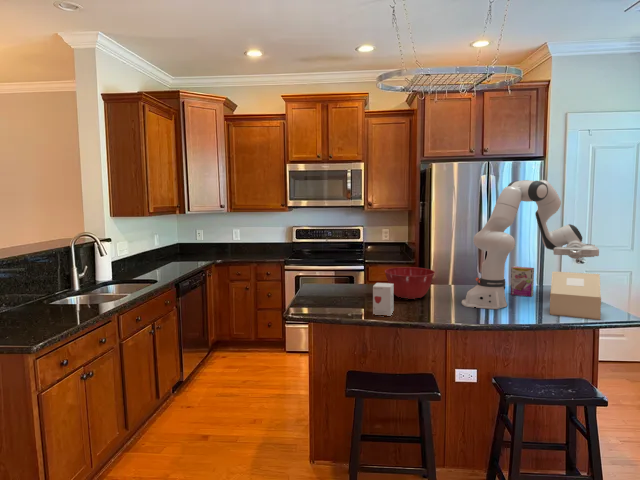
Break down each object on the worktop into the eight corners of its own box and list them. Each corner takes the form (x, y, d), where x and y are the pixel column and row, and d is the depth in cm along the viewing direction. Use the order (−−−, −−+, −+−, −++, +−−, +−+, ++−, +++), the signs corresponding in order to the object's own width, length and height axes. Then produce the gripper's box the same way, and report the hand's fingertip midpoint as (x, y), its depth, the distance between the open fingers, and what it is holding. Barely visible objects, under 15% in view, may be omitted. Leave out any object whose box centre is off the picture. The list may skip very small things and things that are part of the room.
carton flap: (552, 272, 205) (552, 271, 204) (599, 274, 194) (599, 273, 194) (550, 294, 195) (550, 293, 195) (600, 298, 185) (600, 297, 184)
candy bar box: (510, 295, 237) (510, 267, 236) (512, 293, 241) (513, 265, 240) (531, 297, 230) (532, 268, 229) (533, 295, 234) (534, 267, 233)
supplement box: (372, 315, 201) (372, 285, 200) (376, 311, 210) (376, 282, 208) (390, 317, 198) (390, 286, 197) (394, 312, 206) (393, 283, 205)
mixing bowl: (445, 297, 236) (445, 270, 235) (412, 305, 219) (412, 277, 218) (407, 289, 259) (407, 265, 257) (374, 296, 242) (374, 270, 240)
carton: (551, 306, 209) (551, 287, 209) (598, 311, 199) (599, 291, 198) (549, 314, 196) (550, 293, 195) (600, 319, 185) (601, 298, 185)
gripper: (553, 243, 226) (552, 246, 214) (598, 244, 215) (599, 247, 203) (553, 255, 226) (552, 258, 214) (597, 256, 216) (599, 260, 204)
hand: (575, 253), depth 209 cm, fingers closed
